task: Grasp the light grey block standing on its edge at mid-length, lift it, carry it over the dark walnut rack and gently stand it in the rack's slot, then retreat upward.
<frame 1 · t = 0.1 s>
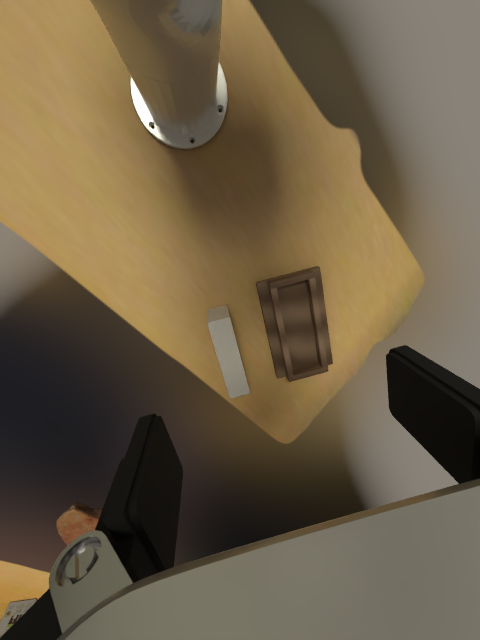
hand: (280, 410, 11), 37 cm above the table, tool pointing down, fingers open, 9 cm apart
coffee box: (28, 609, 67), on the table
rack: (295, 324, 50), on the table
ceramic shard: (102, 516, 61), on the table
light grey block: (226, 342, 50), on the table
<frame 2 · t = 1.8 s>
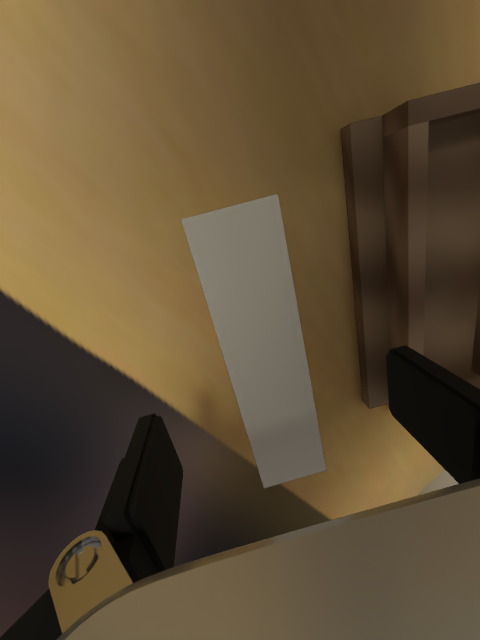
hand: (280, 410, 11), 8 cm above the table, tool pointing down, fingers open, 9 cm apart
rack: (430, 270, 19), on the table
light grey block: (247, 317, 19), on the table
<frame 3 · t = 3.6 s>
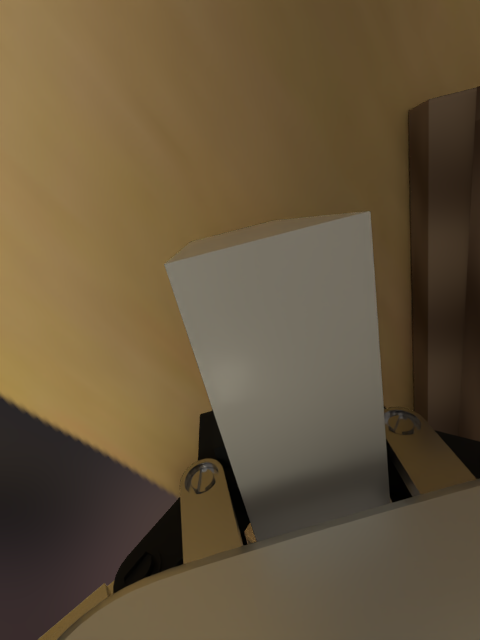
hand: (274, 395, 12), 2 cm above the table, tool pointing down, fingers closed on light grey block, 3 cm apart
light grey block: (266, 376, 13), on the table, touching gripper
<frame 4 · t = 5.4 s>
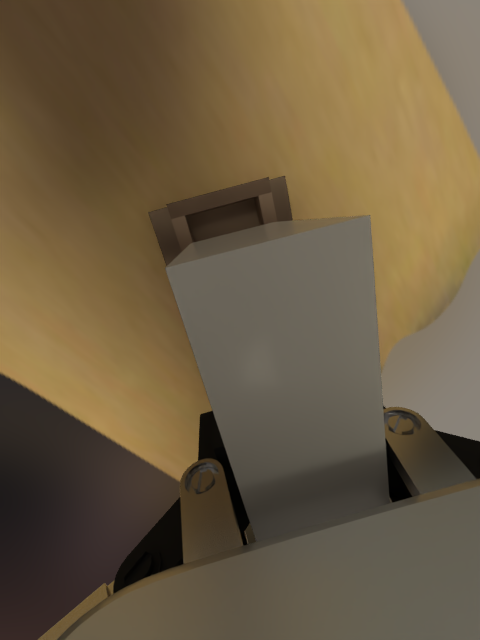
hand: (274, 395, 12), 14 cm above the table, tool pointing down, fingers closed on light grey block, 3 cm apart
rack: (244, 304, 25), on the table
light grey block: (266, 377, 13), point 13 cm above the table, touching gripper
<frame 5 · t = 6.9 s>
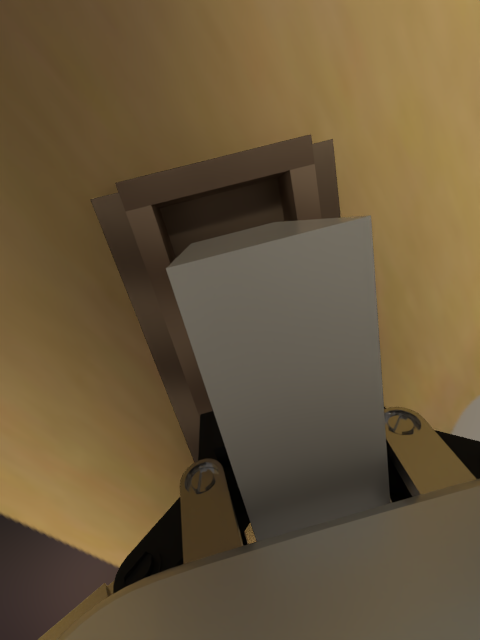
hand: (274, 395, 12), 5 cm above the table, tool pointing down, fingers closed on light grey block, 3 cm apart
rack: (255, 348, 16), on the table
light grey block: (267, 377, 13), point 3 cm above the table, touching gripper
when the fingers open (4 cm above the table, at t = 7.7 s): light grey block drops 1 cm, resting on rack.
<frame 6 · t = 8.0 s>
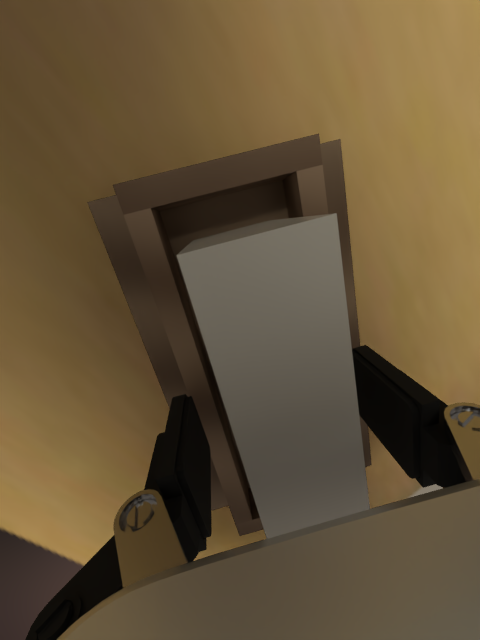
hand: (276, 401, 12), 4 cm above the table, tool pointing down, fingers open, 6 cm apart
rack: (258, 355, 16), on the table
light grey block: (263, 363, 15), point 1 cm above the table, touching rack
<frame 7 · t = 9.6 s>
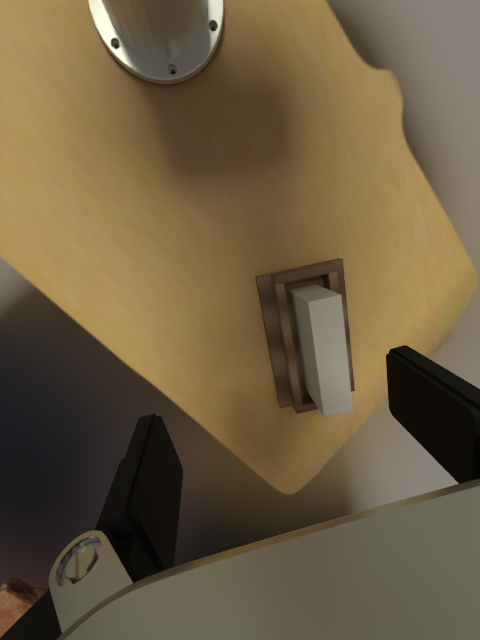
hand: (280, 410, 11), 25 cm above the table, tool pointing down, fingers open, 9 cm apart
rack: (307, 336, 37), on the table
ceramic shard: (45, 595, 46), on the table
light grey block: (310, 338, 36), point 1 cm above the table, touching rack
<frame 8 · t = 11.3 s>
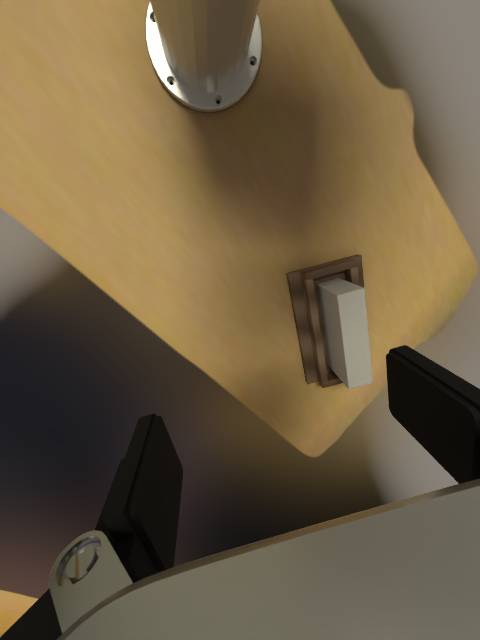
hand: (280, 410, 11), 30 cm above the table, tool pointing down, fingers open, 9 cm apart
rack: (330, 322, 44), on the table
light grey block: (333, 324, 43), point 1 cm above the table, touching rack
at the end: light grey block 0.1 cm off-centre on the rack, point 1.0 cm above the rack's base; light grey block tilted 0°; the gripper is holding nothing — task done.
